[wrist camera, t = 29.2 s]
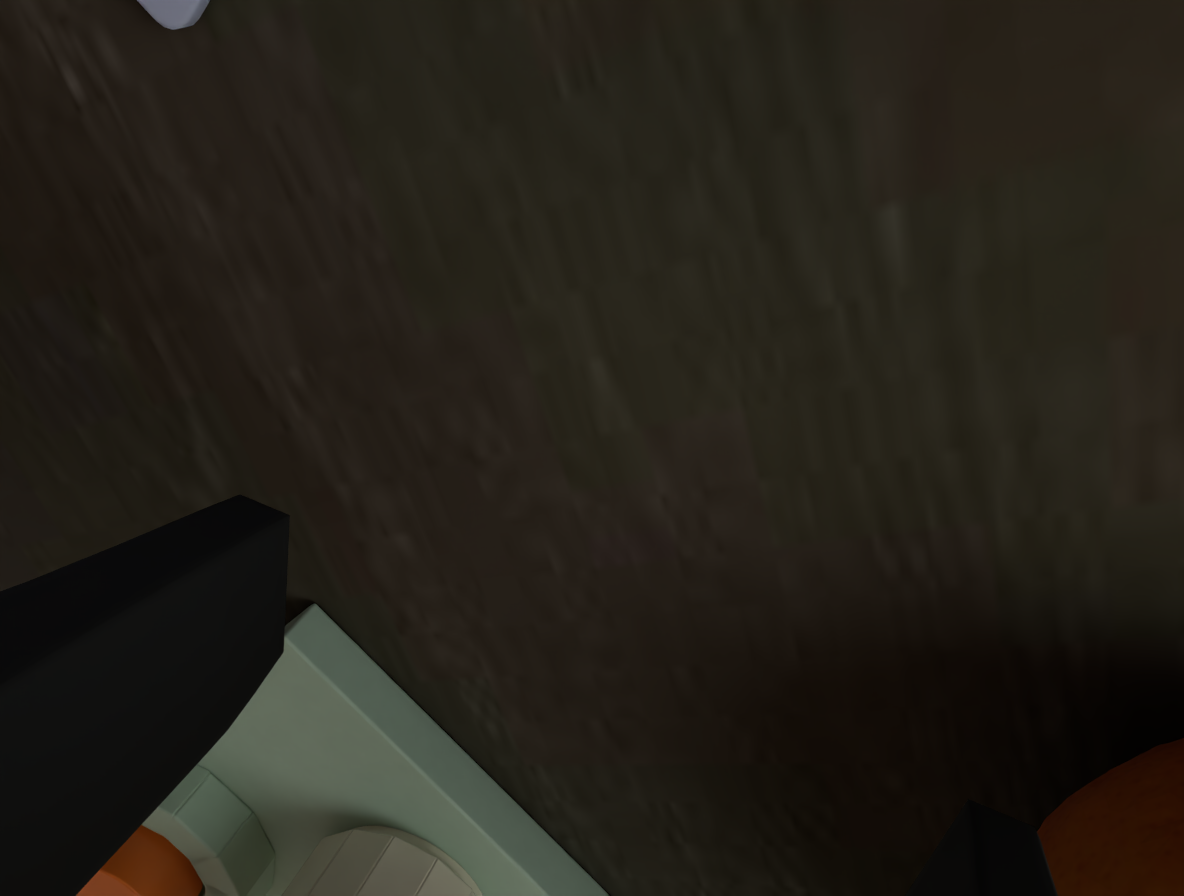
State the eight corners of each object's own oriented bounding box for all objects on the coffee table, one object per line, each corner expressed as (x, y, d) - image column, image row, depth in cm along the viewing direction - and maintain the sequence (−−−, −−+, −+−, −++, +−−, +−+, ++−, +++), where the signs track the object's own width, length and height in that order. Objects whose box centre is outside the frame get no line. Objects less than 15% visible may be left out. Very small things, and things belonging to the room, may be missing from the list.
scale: (102, 751, 33) (27, 824, 30) (299, 585, 25) (222, 663, 23) (401, 1028, 35) (354, 1118, 32) (662, 946, 27) (627, 1053, 25)
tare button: (92, 834, 30) (46, 884, 28) (137, 801, 28) (89, 852, 27) (173, 908, 30) (131, 960, 29) (222, 879, 28) (180, 934, 27)
